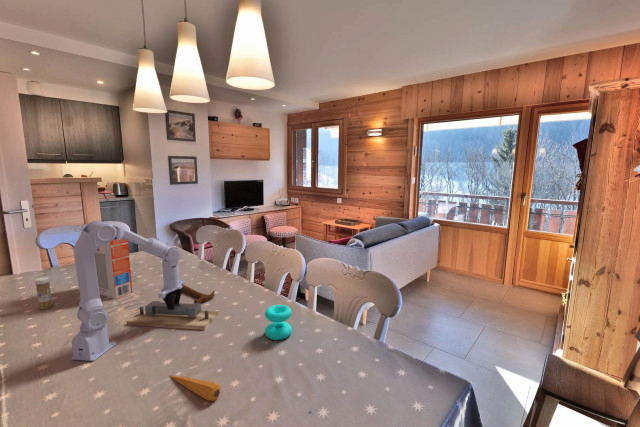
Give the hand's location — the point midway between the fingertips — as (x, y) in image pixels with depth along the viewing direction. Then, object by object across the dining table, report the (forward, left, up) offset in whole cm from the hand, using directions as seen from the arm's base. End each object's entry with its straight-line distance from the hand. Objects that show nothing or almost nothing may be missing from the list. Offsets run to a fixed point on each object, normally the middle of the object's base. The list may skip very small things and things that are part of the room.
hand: (173, 307), depth 120 cm
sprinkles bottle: (+3, +62, -6) cm, 62 cm away
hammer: (+26, +7, -6) cm, 27 cm away
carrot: (-35, -27, -6) cm, 45 cm away
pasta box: (+22, +48, -6) cm, 53 cm away
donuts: (-6, -45, -6) cm, 46 cm away
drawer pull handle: (0, 0, -2) cm, 2 cm away
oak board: (0, 0, -5) cm, 5 cm away
